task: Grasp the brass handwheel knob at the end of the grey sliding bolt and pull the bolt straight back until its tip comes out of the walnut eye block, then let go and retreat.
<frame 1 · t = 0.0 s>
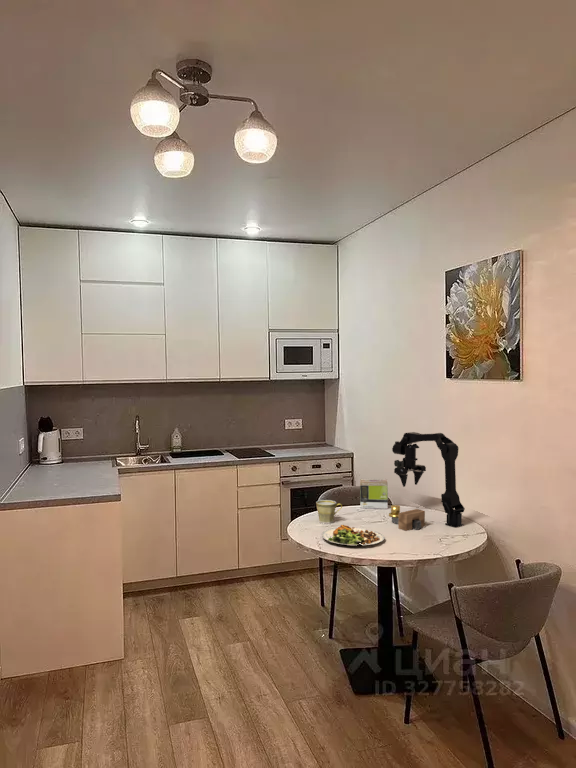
hand: (410, 485, 300), 15 cm above the table, tool pointing down, fingers open, 9 cm apart
eye block: (411, 527, 274), on the table
plate of food: (352, 540, 254), on the table
tea box: (373, 507, 315), on the table
grey sliding bolt: (404, 516, 277), point 4 cm above the table, slide at 0.0 cm
ceramic cup: (329, 522, 283), on the table
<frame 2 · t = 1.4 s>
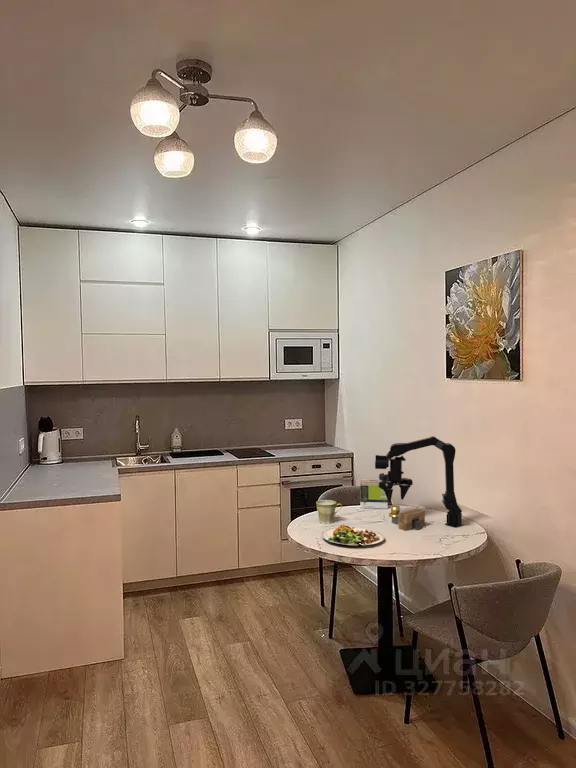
hand: (395, 500, 282), 11 cm above the table, tool pointing down, fingers open, 9 cm apart
nothing on the table moved.
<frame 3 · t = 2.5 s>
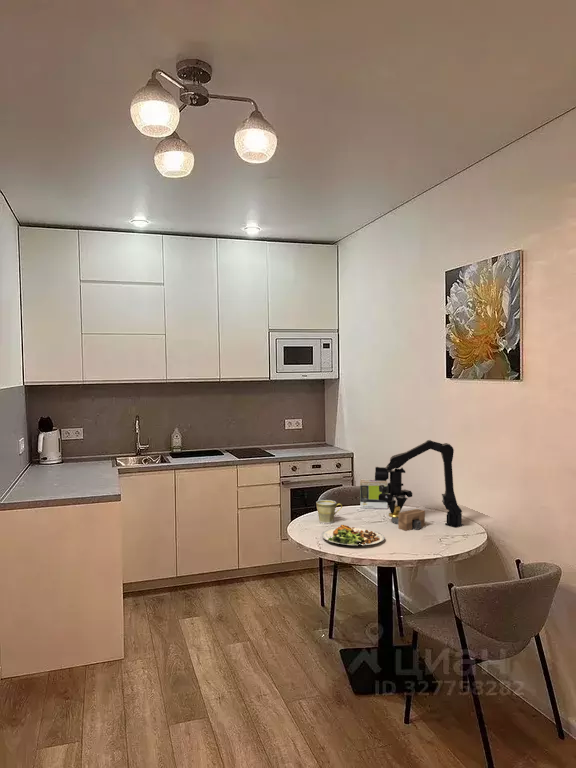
hand: (395, 512, 282), 5 cm above the table, tool pointing down, fingers closed on grey sliding bolt, 4 cm apart
grey sliding bolt: (404, 516, 277), point 4 cm above the table, slide at 0.0 cm, touching gripper
everything else where it was.
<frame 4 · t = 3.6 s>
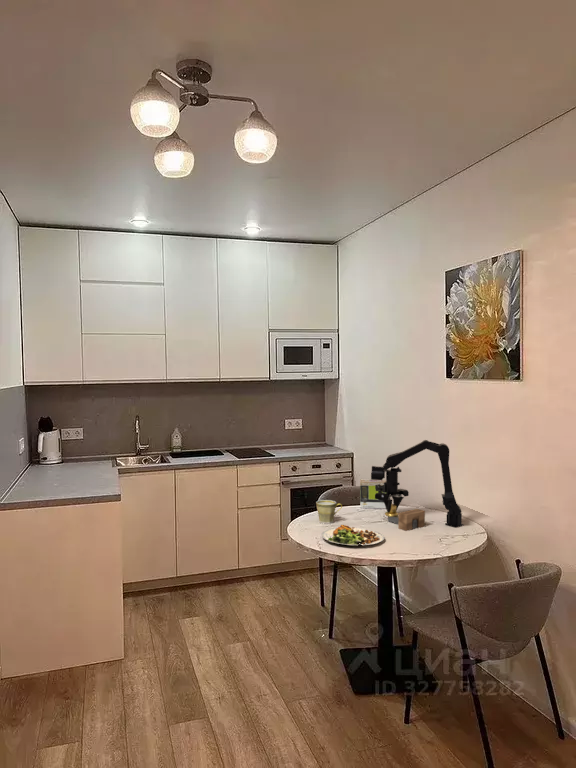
hand: (391, 511, 284), 5 cm above the table, tool pointing down, fingers closed on grey sliding bolt, 4 cm apart
grey sliding bolt: (400, 515, 279), point 4 cm above the table, slide at 2.4 cm, touching gripper
everything else where it was.
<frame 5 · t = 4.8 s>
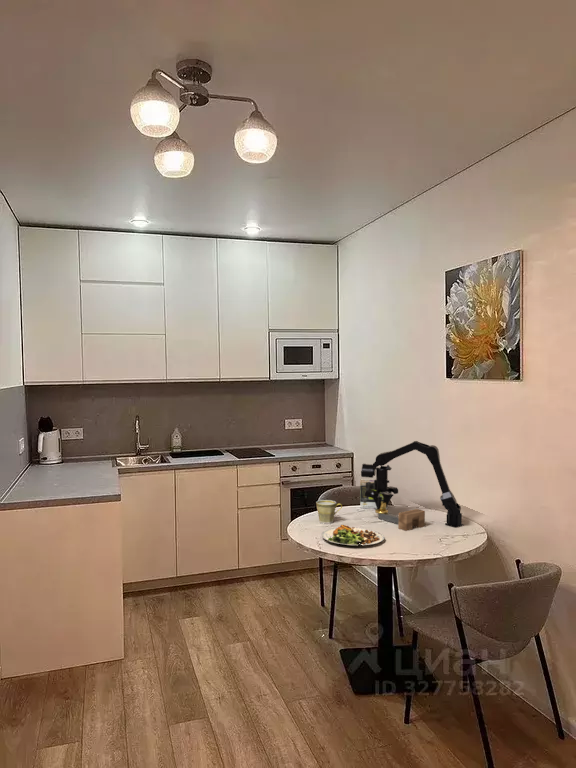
hand: (381, 508, 289), 5 cm above the table, tool pointing down, fingers closed on grey sliding bolt, 4 cm apart
grey sliding bolt: (390, 512, 285), point 4 cm above the table, slide at 9.4 cm, touching gripper
everything else where it was.
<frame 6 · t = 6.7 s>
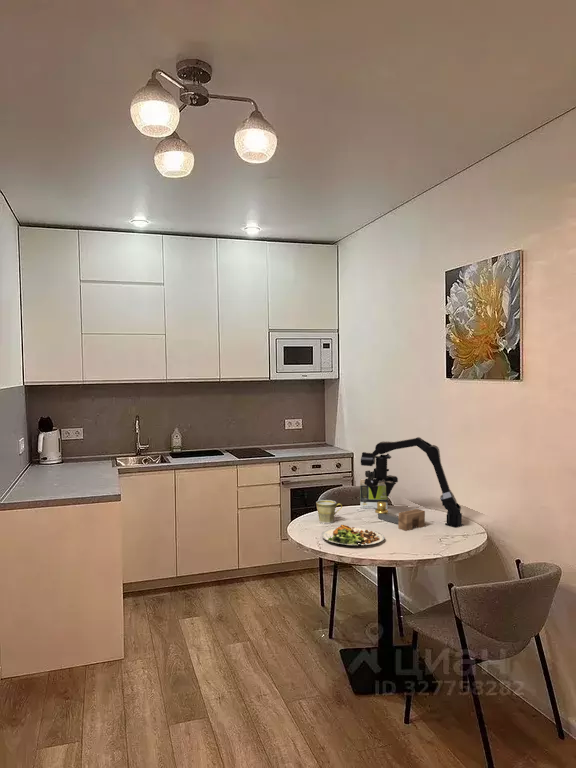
hand: (381, 497, 289), 11 cm above the table, tool pointing down, fingers open, 9 cm apart
grey sliding bolt: (390, 512, 285), point 4 cm above the table, slide at 9.5 cm
everything else where it was.
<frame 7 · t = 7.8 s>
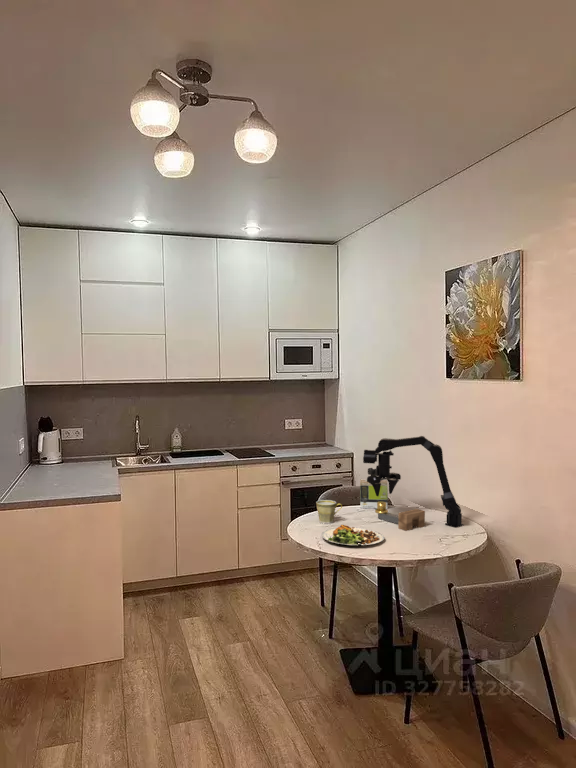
hand: (383, 494, 285), 13 cm above the table, tool pointing down, fingers open, 9 cm apart
nothing on the table moved.
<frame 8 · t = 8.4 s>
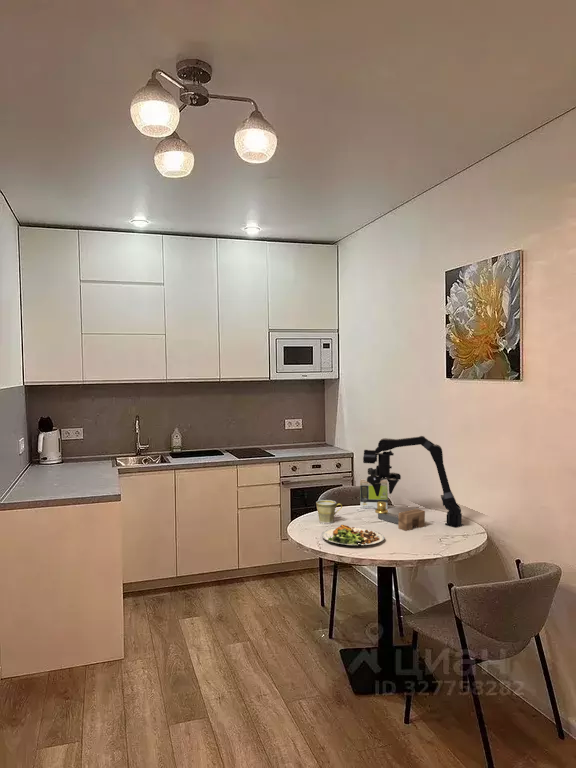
hand: (383, 494, 285), 13 cm above the table, tool pointing down, fingers open, 9 cm apart
nothing on the table moved.
at the end: grey sliding bolt slide at 9.5 cm; the gripper is holding nothing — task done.
